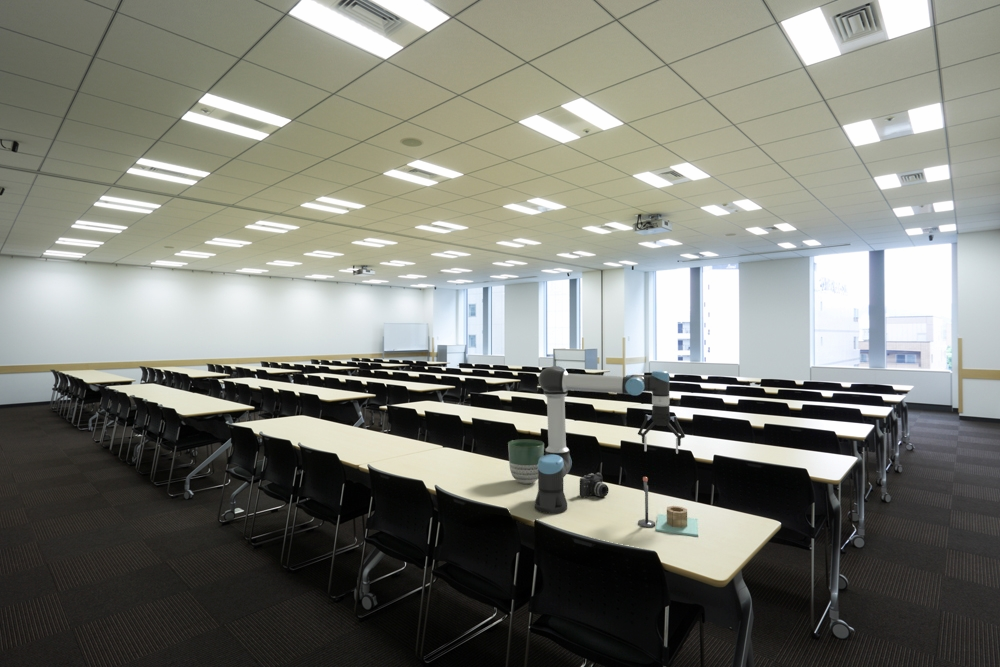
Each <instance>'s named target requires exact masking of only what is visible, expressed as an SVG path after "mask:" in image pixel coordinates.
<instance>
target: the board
mask: <svg viewBox="0 0 1000 667" xmlns="http://www.w3.org/2000/svg"><path fill="white" fill-rule="evenodd" d="M698 522H699V521H698V518H697V517H696V518H695V517H688V516H687V527H683V528H679V527H672V526H670V525H668V524H667V514H661V513H658V514H657V521H656V524H655V531H656V532H661V533H667V534H675V535H676V534H678V535H684V536H691V537H699V527H698V526H699V523H698Z"/></svg>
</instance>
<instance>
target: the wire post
mask: <svg viewBox="0 0 1000 667" xmlns="http://www.w3.org/2000/svg"><path fill="white" fill-rule="evenodd" d="M648 480H649V478H648V477H647V476H643V477H642V481H643V491H644V516H645V518H643V519H639V520H638V521H637V524H638V526H639V527H642V528H648V529H649V528H656V522H655V521H654V520H650V519H649V485H648Z"/></svg>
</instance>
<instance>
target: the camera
mask: <svg viewBox="0 0 1000 667" xmlns="http://www.w3.org/2000/svg"><path fill="white" fill-rule="evenodd" d="M609 492H610V491H609V487H608V485H607V484H606V483H605V482H603V475H602V473H601V472H596V473H595V474H594V473H592V472H591V473H588V474H587V475H584V476H583V477H580V479H579V497H580V496H581V498H586V497H590V495H591V496H594V495H595V496H597V497H600V498H605V497H606V496H607V495H608V493H609Z"/></svg>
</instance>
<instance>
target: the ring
mask: <svg viewBox="0 0 1000 667" xmlns="http://www.w3.org/2000/svg"><path fill="white" fill-rule="evenodd" d="M666 515H667V524H668V525H670V526H672V527H679V528H683V527H687V517H688V509H687V508H686V507H683V506H677V505H671V506H667V507H666Z"/></svg>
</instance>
